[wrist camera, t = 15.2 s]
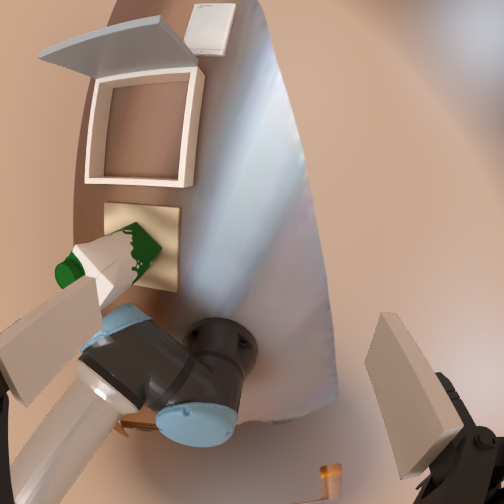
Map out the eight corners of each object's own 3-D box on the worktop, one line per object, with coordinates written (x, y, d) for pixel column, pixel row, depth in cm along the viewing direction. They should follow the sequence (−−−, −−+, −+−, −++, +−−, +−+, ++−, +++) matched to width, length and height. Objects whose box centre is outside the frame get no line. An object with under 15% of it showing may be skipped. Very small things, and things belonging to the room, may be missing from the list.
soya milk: (135, 214, 48) (64, 242, 29) (169, 248, 49) (111, 294, 30) (112, 246, 50) (45, 285, 31) (143, 279, 51) (86, 331, 32)
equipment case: (193, 185, 46) (134, 198, 26) (99, 181, 48) (21, 194, 28) (210, 41, 38) (172, -21, 18) (116, 52, 40) (51, 17, 20)
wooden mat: (178, 290, 52) (176, 292, 52) (109, 277, 53) (107, 279, 52) (180, 207, 48) (178, 208, 47) (106, 201, 49) (104, 202, 48)
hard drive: (194, 3, 35) (179, 54, 39) (236, 3, 35) (223, 54, 38) (196, 7, 37) (182, 57, 40) (237, 7, 36) (225, 58, 40)
